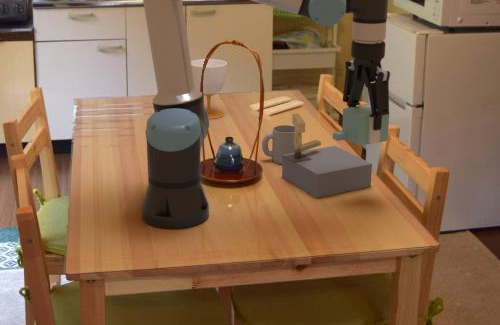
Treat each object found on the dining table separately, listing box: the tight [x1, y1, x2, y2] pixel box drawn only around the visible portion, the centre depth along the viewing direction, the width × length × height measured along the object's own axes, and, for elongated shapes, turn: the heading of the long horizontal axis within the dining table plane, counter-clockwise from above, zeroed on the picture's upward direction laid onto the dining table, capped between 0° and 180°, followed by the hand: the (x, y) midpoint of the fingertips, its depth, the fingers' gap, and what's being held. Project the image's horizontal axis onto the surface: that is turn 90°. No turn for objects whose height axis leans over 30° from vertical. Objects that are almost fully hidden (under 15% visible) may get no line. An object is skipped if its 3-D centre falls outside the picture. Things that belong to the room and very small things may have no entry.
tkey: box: [291, 113, 322, 158], centre depth 201 cm, size 10×8×10 cm
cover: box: [332, 104, 390, 147], centre depth 187 cm, size 10×7×7 cm, turn 117°
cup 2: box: [261, 124, 295, 165], centre depth 217 cm, size 7×10×9 cm
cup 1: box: [191, 58, 228, 120], centre depth 256 cm, size 12×12×17 cm
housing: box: [281, 145, 373, 199], centre depth 202 cm, size 16×16×6 cm
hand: (363, 138), depth 188 cm, fingers closed on cover, 7 cm apart
